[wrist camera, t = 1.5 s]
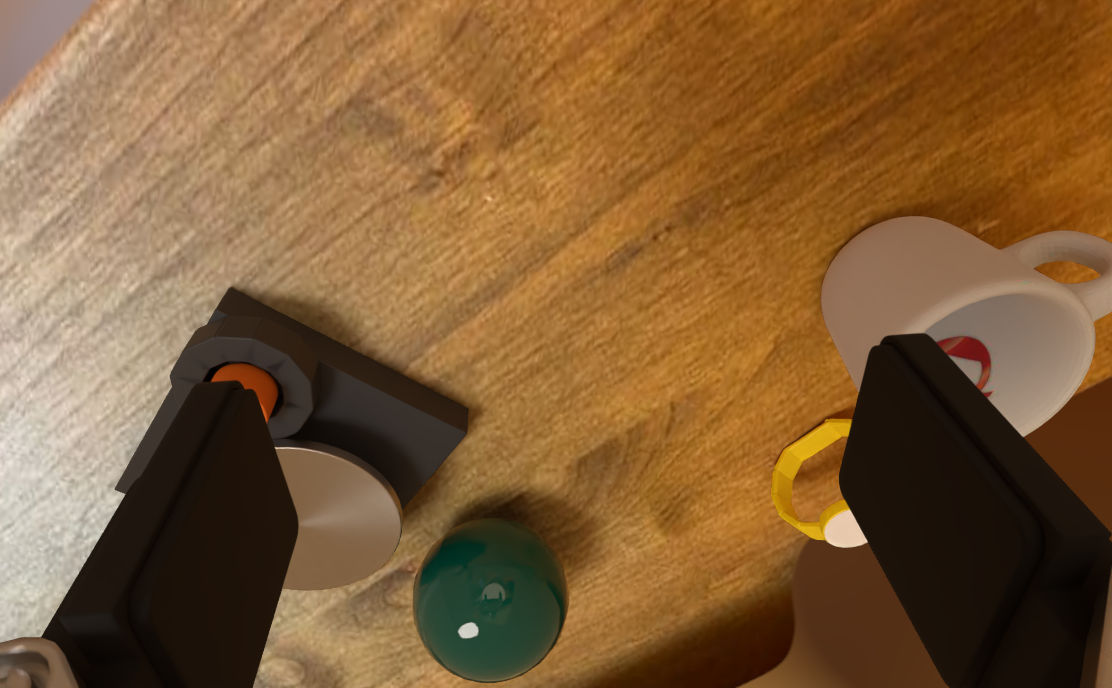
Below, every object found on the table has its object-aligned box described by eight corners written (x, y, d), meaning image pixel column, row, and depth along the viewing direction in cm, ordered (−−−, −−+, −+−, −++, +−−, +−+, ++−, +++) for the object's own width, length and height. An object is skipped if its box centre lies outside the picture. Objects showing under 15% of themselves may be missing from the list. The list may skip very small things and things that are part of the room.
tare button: (202, 395, 30) (187, 422, 28) (228, 352, 29) (213, 378, 27) (262, 421, 31) (250, 449, 29) (289, 381, 30) (278, 407, 28)
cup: (1027, 124, 29) (1184, 201, 22) (1049, 275, 33) (1187, 379, 27) (773, 244, 31) (848, 347, 25) (824, 372, 35) (899, 490, 29)
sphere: (581, 561, 42) (597, 692, 35) (454, 597, 43) (446, 731, 36) (534, 467, 38) (542, 596, 31) (394, 509, 39) (373, 644, 32)
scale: (125, 460, 36) (92, 513, 33) (231, 270, 30) (203, 313, 27) (351, 549, 40) (340, 603, 37) (477, 398, 35) (475, 446, 32)
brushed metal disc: (161, 536, 34) (156, 546, 33) (244, 404, 30) (240, 413, 29) (344, 603, 37) (342, 613, 37) (440, 492, 33) (439, 502, 33)
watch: (841, 391, 36) (896, 475, 31) (872, 418, 37) (929, 503, 32) (749, 461, 38) (786, 549, 33) (781, 484, 40) (822, 573, 35)
